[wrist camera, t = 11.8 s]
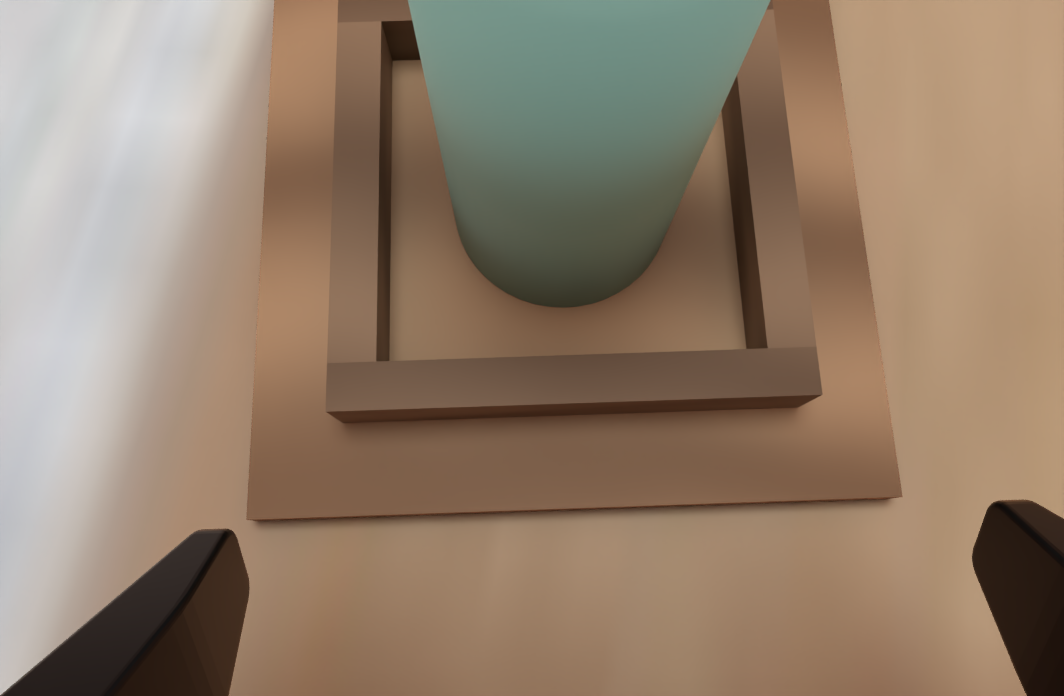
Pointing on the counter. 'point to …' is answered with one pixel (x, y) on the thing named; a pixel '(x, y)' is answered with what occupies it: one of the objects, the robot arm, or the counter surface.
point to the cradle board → (553, 332)
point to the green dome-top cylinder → (574, 129)
